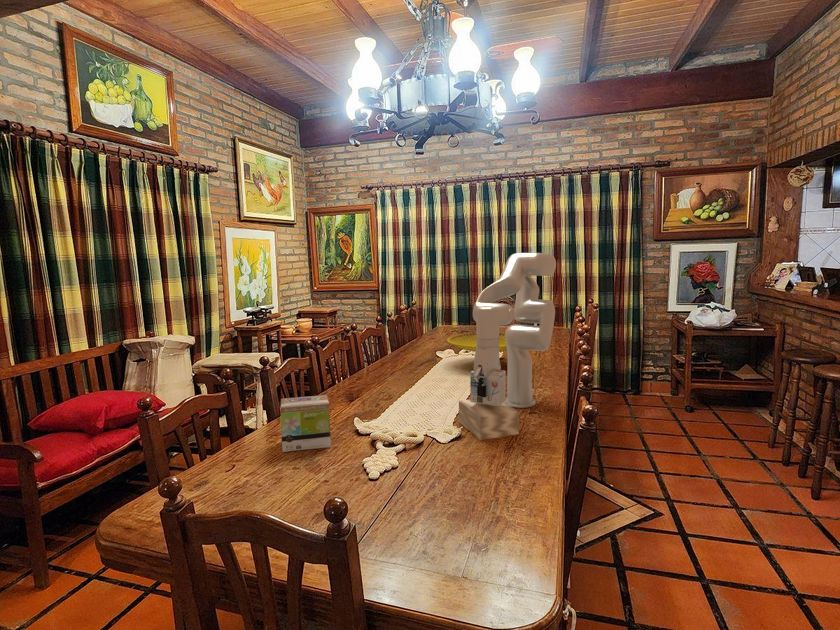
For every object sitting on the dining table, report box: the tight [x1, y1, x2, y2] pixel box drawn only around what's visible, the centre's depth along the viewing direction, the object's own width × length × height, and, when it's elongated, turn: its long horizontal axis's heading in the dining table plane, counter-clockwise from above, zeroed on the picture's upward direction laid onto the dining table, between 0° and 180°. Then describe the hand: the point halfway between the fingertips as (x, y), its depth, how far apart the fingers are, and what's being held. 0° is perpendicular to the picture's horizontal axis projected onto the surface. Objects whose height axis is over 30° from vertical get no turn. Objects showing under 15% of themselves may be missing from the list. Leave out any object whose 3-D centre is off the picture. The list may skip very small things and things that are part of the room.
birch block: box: [458, 398, 520, 441], centre depth 163 cm, size 14×18×8 cm
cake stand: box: [446, 332, 507, 369], centre depth 246 cm, size 40×40×15 cm
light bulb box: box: [469, 369, 507, 406], centre depth 162 cm, size 11×7×11 cm, turn 62°
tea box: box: [280, 394, 332, 453], centre depth 151 cm, size 15×10×15 cm
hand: (487, 393), depth 162 cm, fingers closed on light bulb box, 7 cm apart
